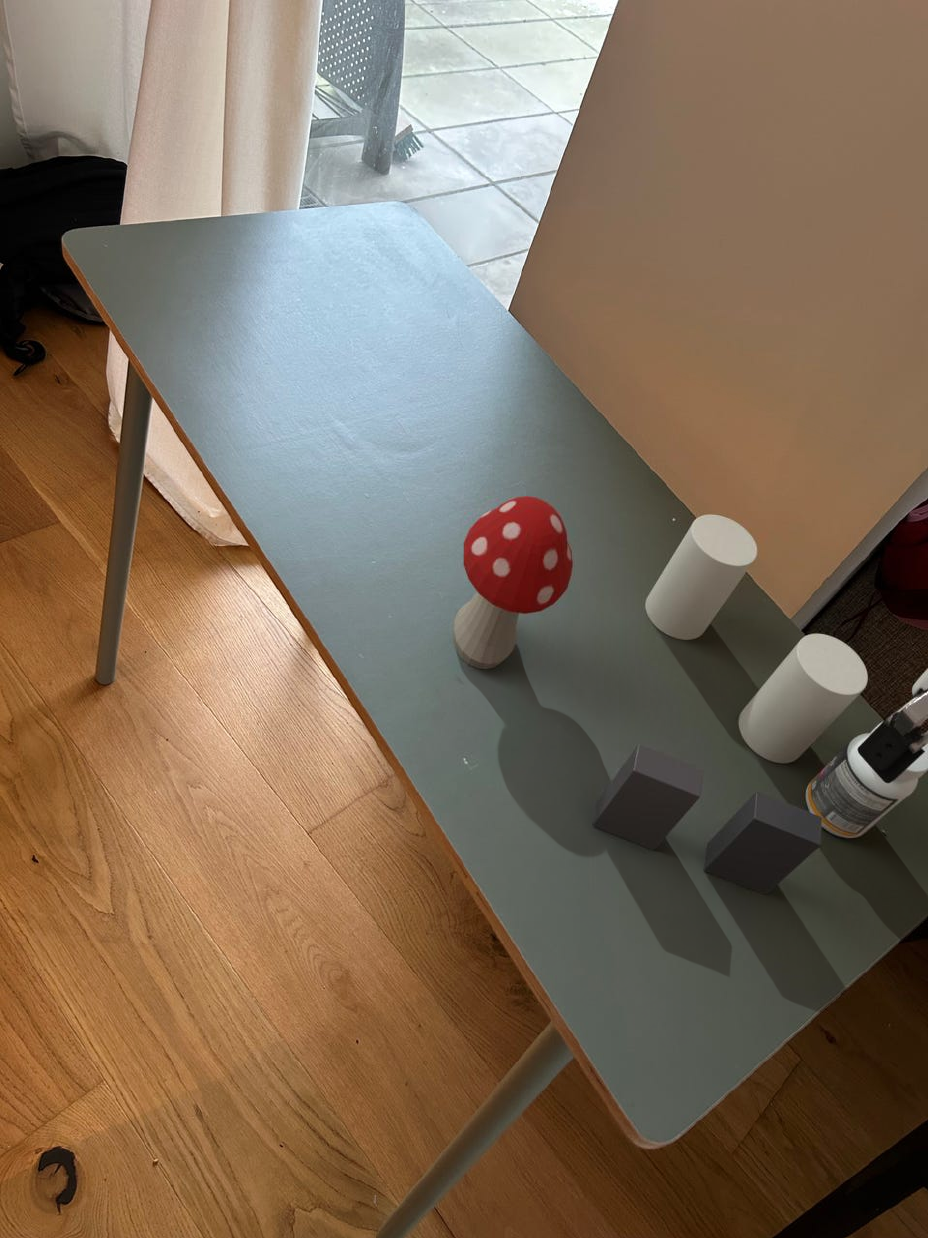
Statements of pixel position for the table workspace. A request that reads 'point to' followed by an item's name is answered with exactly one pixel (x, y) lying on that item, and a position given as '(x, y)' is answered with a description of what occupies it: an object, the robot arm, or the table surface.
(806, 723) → the white cylinder
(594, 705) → the table surface
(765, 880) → the dark grey block
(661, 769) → the dark grey rectangular block
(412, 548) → the table surface
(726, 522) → the white cylinder
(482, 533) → the decorative mushroom
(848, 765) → the pill bottle
